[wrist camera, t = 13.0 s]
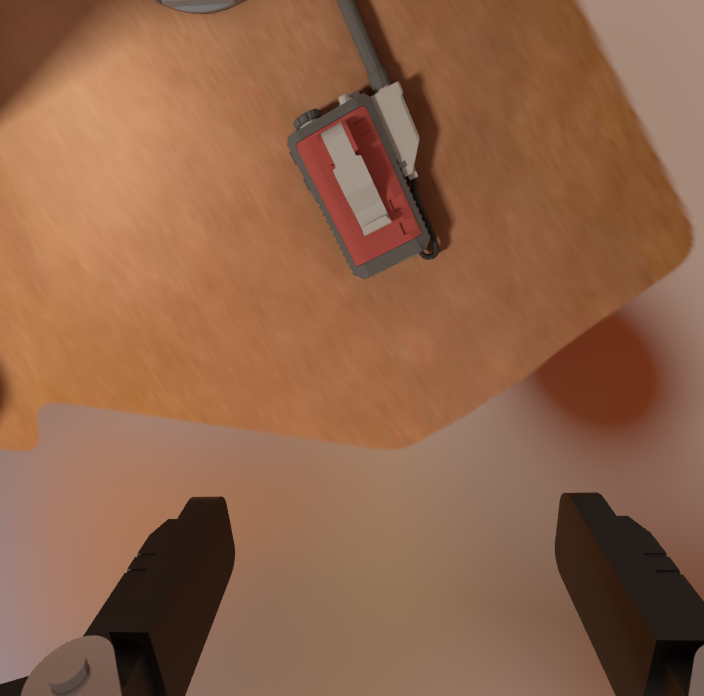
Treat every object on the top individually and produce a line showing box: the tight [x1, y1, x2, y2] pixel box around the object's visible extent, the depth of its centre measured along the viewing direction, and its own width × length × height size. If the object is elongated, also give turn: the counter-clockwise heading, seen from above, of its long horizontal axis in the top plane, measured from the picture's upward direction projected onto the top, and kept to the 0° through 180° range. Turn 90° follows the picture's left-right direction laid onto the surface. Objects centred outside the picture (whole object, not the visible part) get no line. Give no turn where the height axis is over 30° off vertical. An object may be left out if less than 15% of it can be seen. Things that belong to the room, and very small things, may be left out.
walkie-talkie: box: [287, 0, 439, 279], centre depth 31 cm, size 9×4×20 cm
